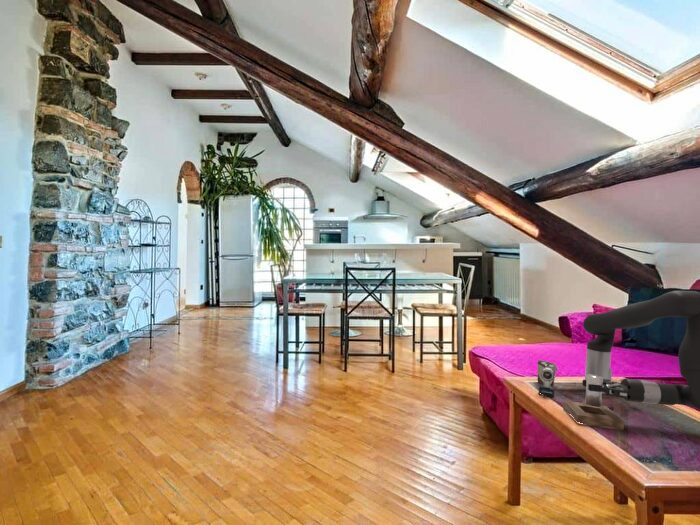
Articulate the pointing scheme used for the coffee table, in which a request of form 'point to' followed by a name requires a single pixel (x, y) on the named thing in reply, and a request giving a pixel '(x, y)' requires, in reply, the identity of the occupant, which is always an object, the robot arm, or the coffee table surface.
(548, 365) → the food container
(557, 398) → the coffee table surface
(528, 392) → the coffee table surface
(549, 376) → the watch
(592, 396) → the ribbed metal cylinder
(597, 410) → the walnut socket block
